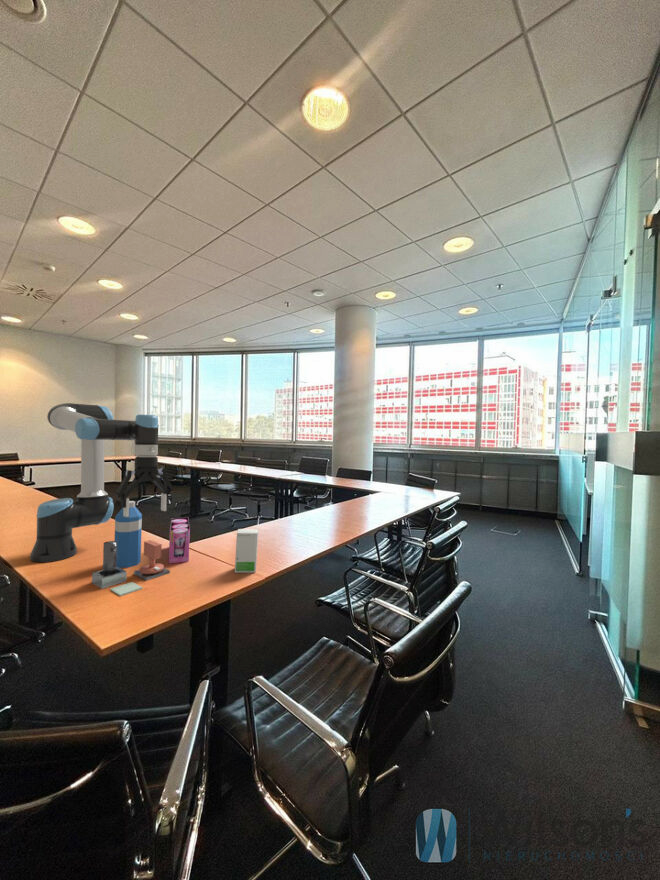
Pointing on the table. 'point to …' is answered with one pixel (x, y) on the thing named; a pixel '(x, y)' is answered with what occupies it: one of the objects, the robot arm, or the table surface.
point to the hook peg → (109, 558)
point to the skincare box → (246, 551)
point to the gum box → (179, 540)
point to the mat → (126, 588)
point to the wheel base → (151, 576)
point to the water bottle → (128, 537)
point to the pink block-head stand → (152, 558)
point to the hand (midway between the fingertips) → (145, 513)
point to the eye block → (109, 578)
